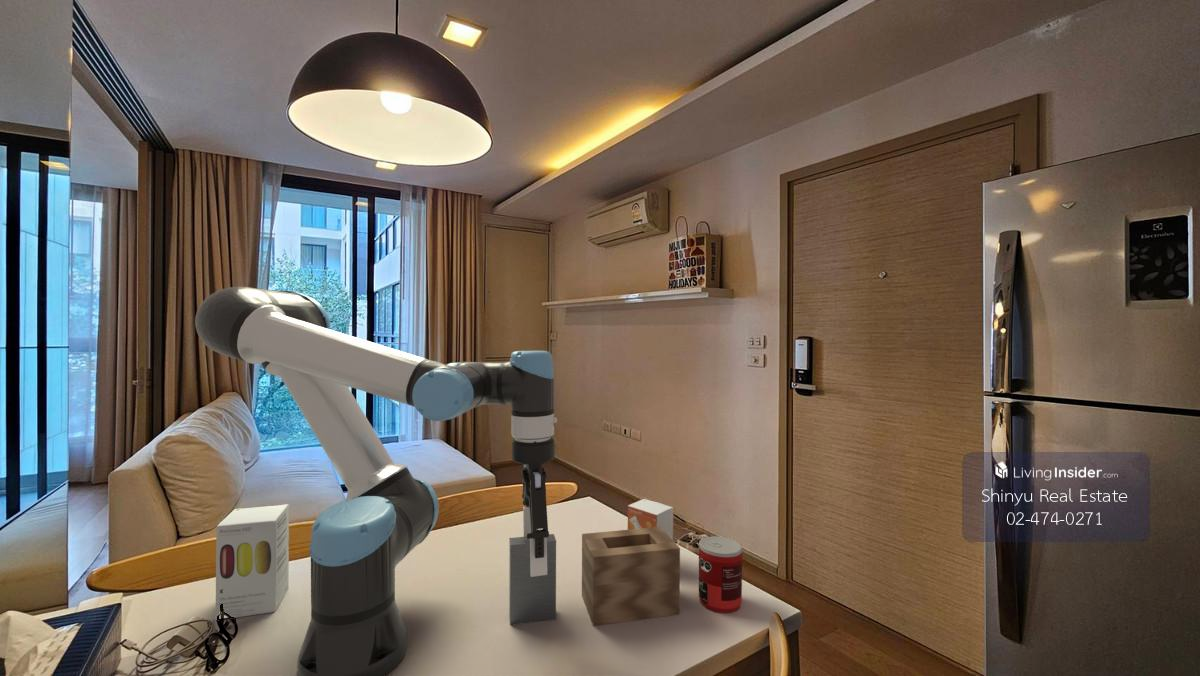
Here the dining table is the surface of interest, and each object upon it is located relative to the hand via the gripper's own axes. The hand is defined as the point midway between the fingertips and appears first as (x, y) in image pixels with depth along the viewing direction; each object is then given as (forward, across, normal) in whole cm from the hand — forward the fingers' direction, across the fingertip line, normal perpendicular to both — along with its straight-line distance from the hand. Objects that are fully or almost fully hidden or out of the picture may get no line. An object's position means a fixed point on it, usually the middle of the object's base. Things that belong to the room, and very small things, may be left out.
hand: (534, 556), depth 88 cm
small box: (+11, +14, -26) cm, 32 cm away
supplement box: (+10, +16, +50) cm, 54 cm away
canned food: (+12, -3, -34) cm, 37 cm away
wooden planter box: (+11, 0, -18) cm, 21 cm away
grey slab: (+11, 0, 0) cm, 11 cm away
